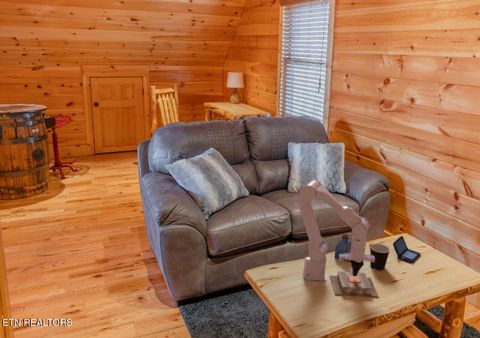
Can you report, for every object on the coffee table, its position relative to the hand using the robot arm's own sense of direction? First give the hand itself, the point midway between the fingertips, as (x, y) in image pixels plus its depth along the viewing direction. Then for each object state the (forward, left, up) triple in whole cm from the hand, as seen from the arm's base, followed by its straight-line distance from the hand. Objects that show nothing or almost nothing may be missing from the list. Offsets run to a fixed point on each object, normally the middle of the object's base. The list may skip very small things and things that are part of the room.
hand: (354, 275), depth 175 cm
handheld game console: (+32, +30, -6) cm, 44 cm away
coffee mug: (+15, +19, -6) cm, 25 cm away
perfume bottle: (0, +25, -6) cm, 26 cm away
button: (0, 0, -5) cm, 5 cm away
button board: (0, 0, -6) cm, 6 cm away
